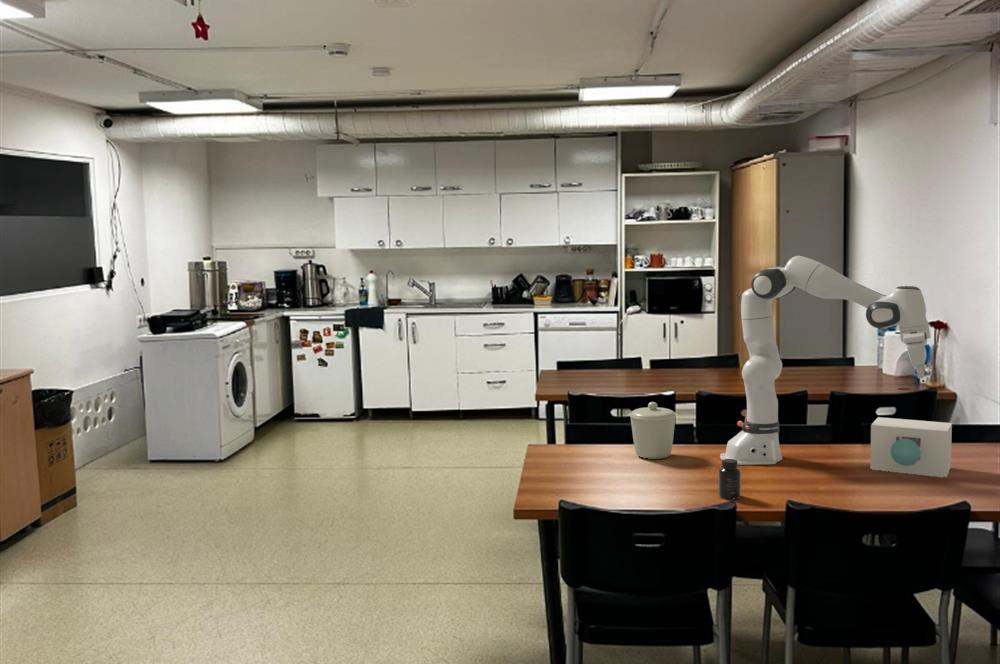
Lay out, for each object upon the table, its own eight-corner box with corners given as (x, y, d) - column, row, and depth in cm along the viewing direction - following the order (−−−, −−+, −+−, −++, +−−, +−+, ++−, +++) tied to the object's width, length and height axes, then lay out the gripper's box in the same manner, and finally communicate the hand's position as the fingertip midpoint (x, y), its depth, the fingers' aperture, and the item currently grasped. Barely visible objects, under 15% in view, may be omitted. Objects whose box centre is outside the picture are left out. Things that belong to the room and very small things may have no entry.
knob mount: (946, 477, 296) (947, 431, 294) (870, 469, 309) (871, 424, 307) (950, 467, 308) (951, 423, 306) (877, 460, 321) (877, 417, 319)
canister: (674, 463, 325) (673, 407, 322) (625, 461, 331) (624, 406, 328) (680, 451, 342) (679, 398, 339) (634, 449, 348) (633, 397, 345)
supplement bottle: (715, 494, 286) (715, 458, 285) (736, 493, 287) (736, 457, 285) (722, 500, 279) (722, 463, 278) (743, 499, 280) (743, 462, 279)
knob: (919, 467, 294) (920, 440, 293) (890, 464, 299) (890, 438, 298) (924, 457, 306) (925, 432, 305) (896, 454, 310) (897, 429, 309)
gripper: (906, 332, 298) (913, 373, 298) (902, 339, 280) (909, 381, 280) (926, 330, 295) (933, 370, 295) (924, 336, 277) (931, 379, 277)
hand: (921, 376), depth 288 cm, fingers open, 8 cm apart
